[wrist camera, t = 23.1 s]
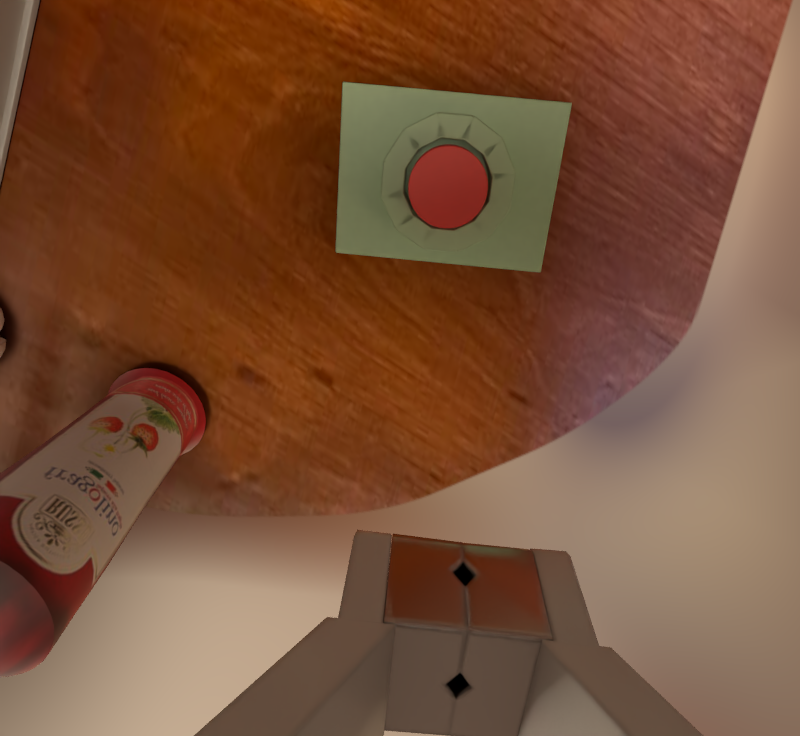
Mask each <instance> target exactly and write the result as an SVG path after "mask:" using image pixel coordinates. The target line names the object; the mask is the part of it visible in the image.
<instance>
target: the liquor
mask: <svg viewBox="0 0 800 736" xmlns="http://www.w3.org/2000/svg"><path fill="white" fill-rule="evenodd" d="M205 425H206V419H205V412H204V408H203V405H202V403H201V401H200V399H199V397H198V396H197V394H196V393H195V392H194V391H193V389H192V388H191V387H190V386H189V385H188V384H187V383H185V382H184V381H183V380H181V379H180V378H178V377H177V376H175V375H173V374H171V373H168V372H166V371H163V370H159V369H154V368H140V369H134V370H131V371H128V372H126V373H124V374H123V375H121V376H119V377H118V378H117V379H116V380H115V381H114V382H113V384H112V386H111V387H110V389H109V392H108V395H107V396H106V397H105V398H103V399H102V400H101V401H99V402H98V403H97V404H96V405H94V406H93V407H92V408H90V409H89V410H88V411H87V412H85V413H84V414H83V415H81V416H80V417H79V418H77V419H76V420H75V421H73V422H72V423H71V424H69V425H68V426H66V427H65V428H64V429H62V430H61V431H60V432H58V433H57V434H56V435H54V436H53V437H52V438H50V439H49V440H48V441H46V442H45V443H44V444H42V445H41V446H39V447H38V448H36V449H35V450H33V451H32V452H31V453H29V454H28V455H26V456H25V457H23V458H22V459H20V460H19V461H18V462H16V463H15V464H13V465H12V466H10V467H9V468H7V469H6V470H5V471H3V472H2V473H0V677H9V676H13V675H18V674H22V673H24V672H27V671H29V670H31V669H33V668H35V667H36V666H37V665H39V664H40V663H41V662H43V661H44V659H45V658H46V657H47V655H48V654H49V652H50V651H51V649H52V648H53V646H54V645H55V643H56V642H57V640H58V639H59V637H60V636H61V634H62V633H63V631H64V630H65V628H66V627H67V625H68V624H69V622H70V621H71V619H72V618H73V616H74V615H75V613H76V612H77V610H78V609H79V607H80V606H81V604H82V603H83V601H84V600H85V598H86V597H87V595H88V594H89V592H90V591H91V590H92V588H93V587H94V585H95V584H96V582H97V581H98V579H99V578H100V576H101V575H102V573H103V572H104V570H105V569H106V568H107V566H108V565H109V563H110V561H111V560H112V558H113V557H114V555H115V553H116V552H117V550H118V549H119V547H120V545H121V544H122V542H123V541H124V539H125V537H126V536H127V534H128V533H129V531H130V530H131V528H132V526H133V525H134V523H135V522H136V520H137V518H138V517H139V515H140V514H141V512H142V511H143V509H144V508H145V506H146V505H147V503H148V502H149V500H150V499H151V497H152V496H153V494H154V493H155V492H156V490H157V489H158V487H159V486H160V484H161V483H162V481H163V480H164V478H165V477H166V475H167V474H168V472H169V471H170V470H171V468H172V467H173V465H174V464H175V463H176V461H177V460H178V458H179V457H180V456H181V455H182V454H184V453H186V452H188V451H190V450H192V449H193V448H194V447H195V446H196V445H197V444H198V443H199V441H200V440H201V438H202V436H203V434H204V431H205Z"/></svg>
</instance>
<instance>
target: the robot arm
mask: <svg viewBox="0 0 800 736" xmlns="http://www.w3.org/2000/svg"><path fill="white" fill-rule="evenodd" d="M391 537H392V535H391V534H388V533H379V532H371V531H363V530H357V532H356V534H355V536H354V540H353V545H352V550H351V555H350V560H349V565H348V571H347V575H346V581H345V586H344V591H343V596H342V601H341V606H340V611H339V616H338V618H330V617H327V618H326V619H324V620H323V621H322V622H321V623H320V624H319V625H318V626H317V627H315V628H314V629H313V630H312V631H311V632H310V633H309V634H308V635H306V636H305V637H304V638H303V639H302V640H301V641H300V642H299V643H297V644H296V646H294V647H293V648H292V649H291V650H290V651H289V652H287V653H286V654H285V655H284V656H283V657H282V658H281V659H280V660H278V661H277V662H276V663H275V664H274V665H273V666H272V667H271V668H269V669H268V670H267V671H266V672H265V673H264V674H263V675H262V676H261V677H259V678H258V679H257V680H256V681H255V682H254V683H253V684H251V685H250V686H249V687H248V688H247V689H246V690H245V691H244V692H242V693H241V694H240V695H239V696H238V697H237V698H236V699H235V700H234V701H233V702H232V703H230V704H229V705H228V706H227V707H226V708H224V709H223V710H222V711H221V712H220V713H219V714H218V715H217V716H216V717H214V718H213V719H212V720H211V721H210V722H209V723H208V724H207V725H205V726H204V727H203V728H202V729H201V730H200V731H199V732H198V733H197V734H195V735H194V736H383V735H384V730H386V731H398V732H411V733H423V734H436V735H450V736H703V735H702V734H701V733H700V732H699V731H698V730H697V729H696V728H695V727H693V726H692V724H691V723H689V722H688V721H687V720H686V719H685V718H684V717H683V716H682V715H681V714H680V713H679V712H678V711H677V710H676V709H675V708H674V707H673V706H672V705H671V704H670V703H668V702H667V701H666V700H665V699H664V698H663V697H662V696H661V695H660V694H659V693H658V692H657V691H656V690H655V689H654V688H653V687H652V686H651V685H650V684H648V683H647V682H646V681H645V680H644V679H643V678H642V677H641V676H640V675H639V674H638V673H637V672H636V671H635V670H634V669H633V668H632V667H631V666H630V665H628V664H627V663H626V662H625V661H624V660H623V659H622V658H621V657H620V656H619V655H618V654H617V653H616V652H615V651H614V650H613V649H612V648H610V647H601V646H599V644H598V641H597V638H596V635H595V632H594V629H593V625H592V622H591V619H590V616H589V613H588V610H587V607H586V604H585V600H584V597H583V594H582V591H581V588H580V585H579V582H578V579H577V576H576V573H575V569H574V566H573V564H572V560H571V557H570V555H569V554H568V553H567V552H566V551H555V550H542V549H530V550H528V549H520V548H510V547H500V546H489V545H480V544H469V543H461V542H454V541H446V540H438V539H430V538H422V537H415V536H407V535H399V534H393V537H392V544H391ZM390 549H391V553H390ZM389 560H390V563H389ZM388 571H389V573H388Z"/></svg>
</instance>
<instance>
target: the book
mask: <svg viewBox="0 0 800 736" xmlns="http://www.w3.org/2000/svg"><path fill="white" fill-rule="evenodd" d="M39 2H40V0H0V185H1V180H2V176H3V171H4V166H5V162H6V157H7V152H8V148H9V143H10V138H11V133H12V129H13V124H14V119H15V115H16V110H17V105H18V101H19V96H20V91H21V87H22V82H23V77H24V72H25V68H26V63H27V58H28V54H29V49H30V44H31V40H32V35H33V30H34V26H35V21H36V16H37V12H38V7H39Z"/></svg>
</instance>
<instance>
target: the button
mask: <svg viewBox="0 0 800 736" xmlns="http://www.w3.org/2000/svg"><path fill="white" fill-rule="evenodd" d="M487 193H488V179H487V175H486V171H485V169H484V167H483V165H482V163H481V162H480V160H479V159H478V158H477V157H476V156H475V155H474V154H473V153H471V152H470V151H469V150H467V149H465V148H463V147H461V146H458V145H453V144H445V145H439V146H436V147H433V148H431V149H430V150H428V151H426V152H425V153H424V154H423V155H422V156H421V157H420V158H419V159H418V160H417V162H416V163H415V165H414V167H413V169H412V171H411V174H410V177H409V183H408V194H409V199H410V202H411V205H412V207H413V209H414V210H415V212H416V213H417V215H418V216H419V217H420V218H421V219H422V220H424V221H425V222H427V223H428V224H430V225H432V226H435V227H438V228H448V229H449V228H456V227H459V226H462V225H464V224H466V223H468V222H469V221H471V220H472V219H473V218H474V217H475V216H476V215H477V214H478V213H479V212H480V210H481V209H482V207H483V205H484V203H485V200H486V197H487Z"/></svg>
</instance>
